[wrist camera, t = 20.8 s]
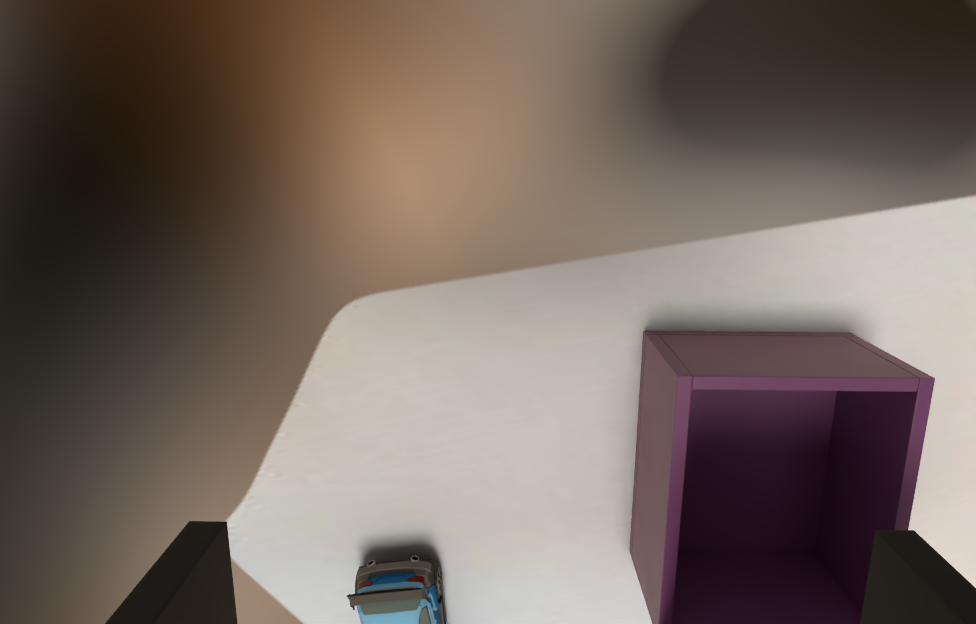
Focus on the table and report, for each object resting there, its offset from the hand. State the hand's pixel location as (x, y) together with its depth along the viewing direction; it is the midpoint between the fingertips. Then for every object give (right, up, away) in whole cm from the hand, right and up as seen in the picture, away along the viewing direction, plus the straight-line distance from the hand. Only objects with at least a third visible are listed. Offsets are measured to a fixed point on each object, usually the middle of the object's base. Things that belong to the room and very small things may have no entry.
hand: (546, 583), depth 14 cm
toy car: (-7, -17, +36) cm, 41 cm away
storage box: (+16, -4, +32) cm, 36 cm away
